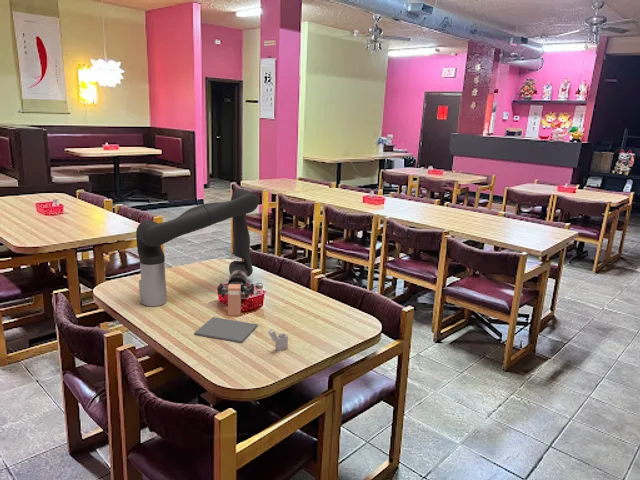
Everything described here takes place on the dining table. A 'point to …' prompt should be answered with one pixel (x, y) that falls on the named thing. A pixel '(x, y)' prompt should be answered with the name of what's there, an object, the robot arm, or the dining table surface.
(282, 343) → the lighter
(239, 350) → the dining table surface
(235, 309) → the block
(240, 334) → the mat
